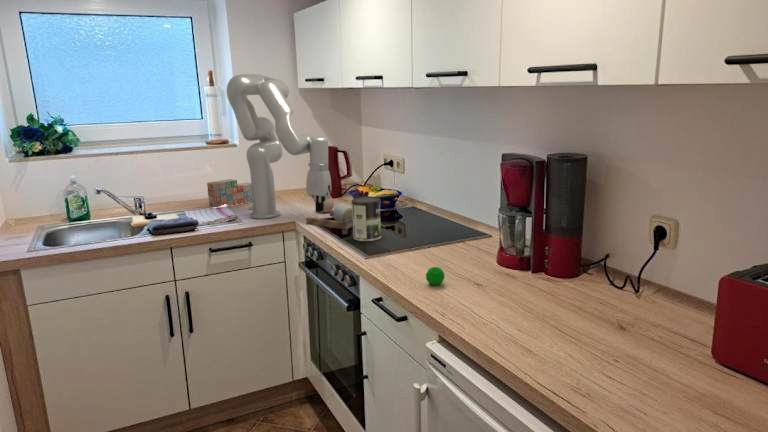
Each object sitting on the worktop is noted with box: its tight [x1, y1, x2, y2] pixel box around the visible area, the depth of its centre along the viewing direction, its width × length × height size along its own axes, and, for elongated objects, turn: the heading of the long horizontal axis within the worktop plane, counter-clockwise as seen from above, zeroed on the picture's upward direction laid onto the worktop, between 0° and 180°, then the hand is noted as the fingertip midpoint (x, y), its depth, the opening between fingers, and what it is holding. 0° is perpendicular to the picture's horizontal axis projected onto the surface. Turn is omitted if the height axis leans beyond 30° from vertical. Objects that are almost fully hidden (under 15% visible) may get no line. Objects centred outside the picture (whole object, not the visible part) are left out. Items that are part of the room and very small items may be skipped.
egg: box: [321, 195, 335, 214], centre depth 239 cm, size 7×7×8 cm
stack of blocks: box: [206, 178, 253, 208], centre depth 262 cm, size 21×6×12 cm, turn 133°
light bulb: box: [332, 202, 353, 222], centre depth 220 cm, size 11×8×8 cm
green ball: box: [425, 266, 445, 286], centre depth 149 cm, size 5×5×5 cm
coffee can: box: [350, 196, 382, 242], centre depth 196 cm, size 10×10×14 cm
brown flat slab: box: [305, 209, 353, 230], centre depth 222 cm, size 20×16×3 cm
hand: (319, 211), depth 226 cm, fingers closed
